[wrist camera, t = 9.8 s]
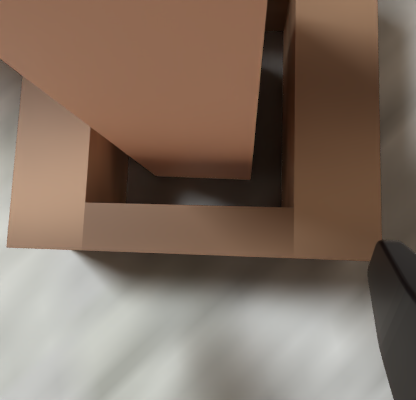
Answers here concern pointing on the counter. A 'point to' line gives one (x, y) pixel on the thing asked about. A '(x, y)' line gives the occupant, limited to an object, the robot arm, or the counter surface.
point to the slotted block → (226, 215)
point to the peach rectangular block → (149, 75)
